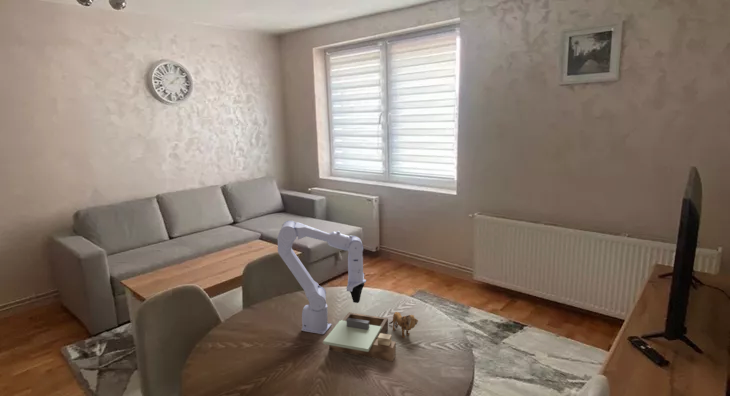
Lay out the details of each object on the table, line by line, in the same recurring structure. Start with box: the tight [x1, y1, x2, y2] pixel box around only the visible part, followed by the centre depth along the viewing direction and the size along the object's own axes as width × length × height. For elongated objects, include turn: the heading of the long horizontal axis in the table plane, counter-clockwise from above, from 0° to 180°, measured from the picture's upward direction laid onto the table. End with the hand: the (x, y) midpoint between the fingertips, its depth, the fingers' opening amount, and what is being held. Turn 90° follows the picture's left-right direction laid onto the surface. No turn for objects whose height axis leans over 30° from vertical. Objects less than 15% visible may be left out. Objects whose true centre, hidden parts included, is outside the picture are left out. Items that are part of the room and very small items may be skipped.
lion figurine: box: [388, 311, 419, 339], centre depth 159 cm, size 15×5×9 cm, turn 37°
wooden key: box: [378, 333, 392, 346], centre depth 142 cm, size 4×3×2 cm
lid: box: [322, 318, 382, 352], centre depth 147 cm, size 16×16×4 cm
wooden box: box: [328, 312, 397, 362], centre depth 153 cm, size 23×20×5 cm
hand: (356, 302), depth 162 cm, fingers closed
